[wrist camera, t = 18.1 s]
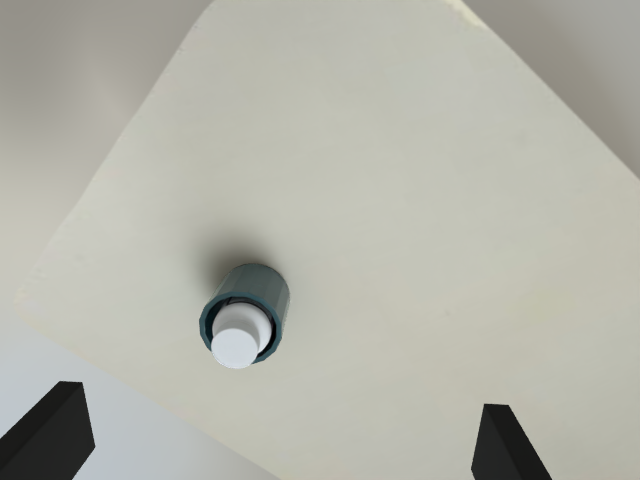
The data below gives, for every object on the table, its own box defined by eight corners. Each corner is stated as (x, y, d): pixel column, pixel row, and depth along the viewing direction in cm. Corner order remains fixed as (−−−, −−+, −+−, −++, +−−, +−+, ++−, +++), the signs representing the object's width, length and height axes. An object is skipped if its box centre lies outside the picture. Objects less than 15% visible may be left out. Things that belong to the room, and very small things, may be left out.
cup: (218, 262, 41) (196, 290, 34) (289, 264, 41) (281, 293, 34) (221, 325, 43) (201, 363, 37) (289, 328, 43) (281, 366, 36)
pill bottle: (258, 329, 43) (237, 387, 34) (220, 298, 42) (189, 349, 33) (290, 297, 42) (279, 349, 32) (252, 265, 41) (229, 308, 31)
